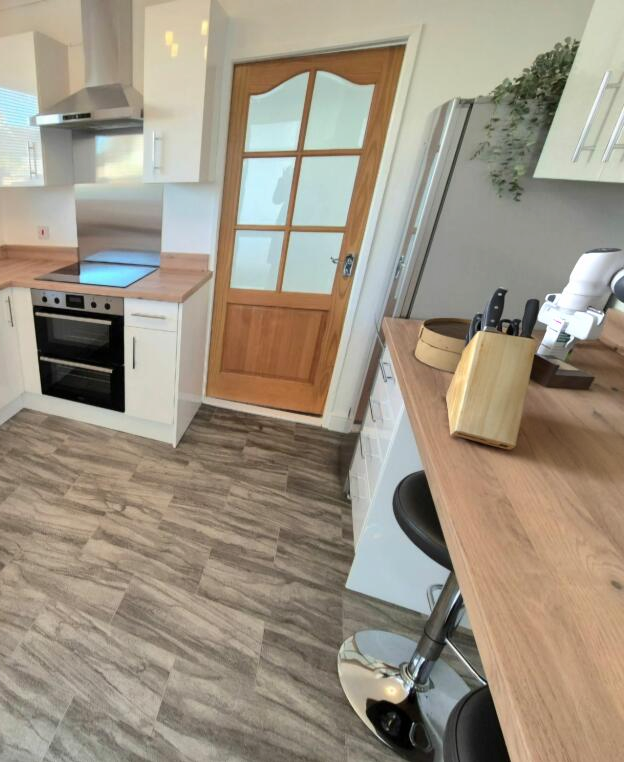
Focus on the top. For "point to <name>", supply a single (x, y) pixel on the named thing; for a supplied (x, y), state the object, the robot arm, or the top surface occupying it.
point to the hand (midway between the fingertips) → (557, 344)
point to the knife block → (493, 376)
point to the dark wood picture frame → (558, 373)
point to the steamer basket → (443, 342)
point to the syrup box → (556, 340)
